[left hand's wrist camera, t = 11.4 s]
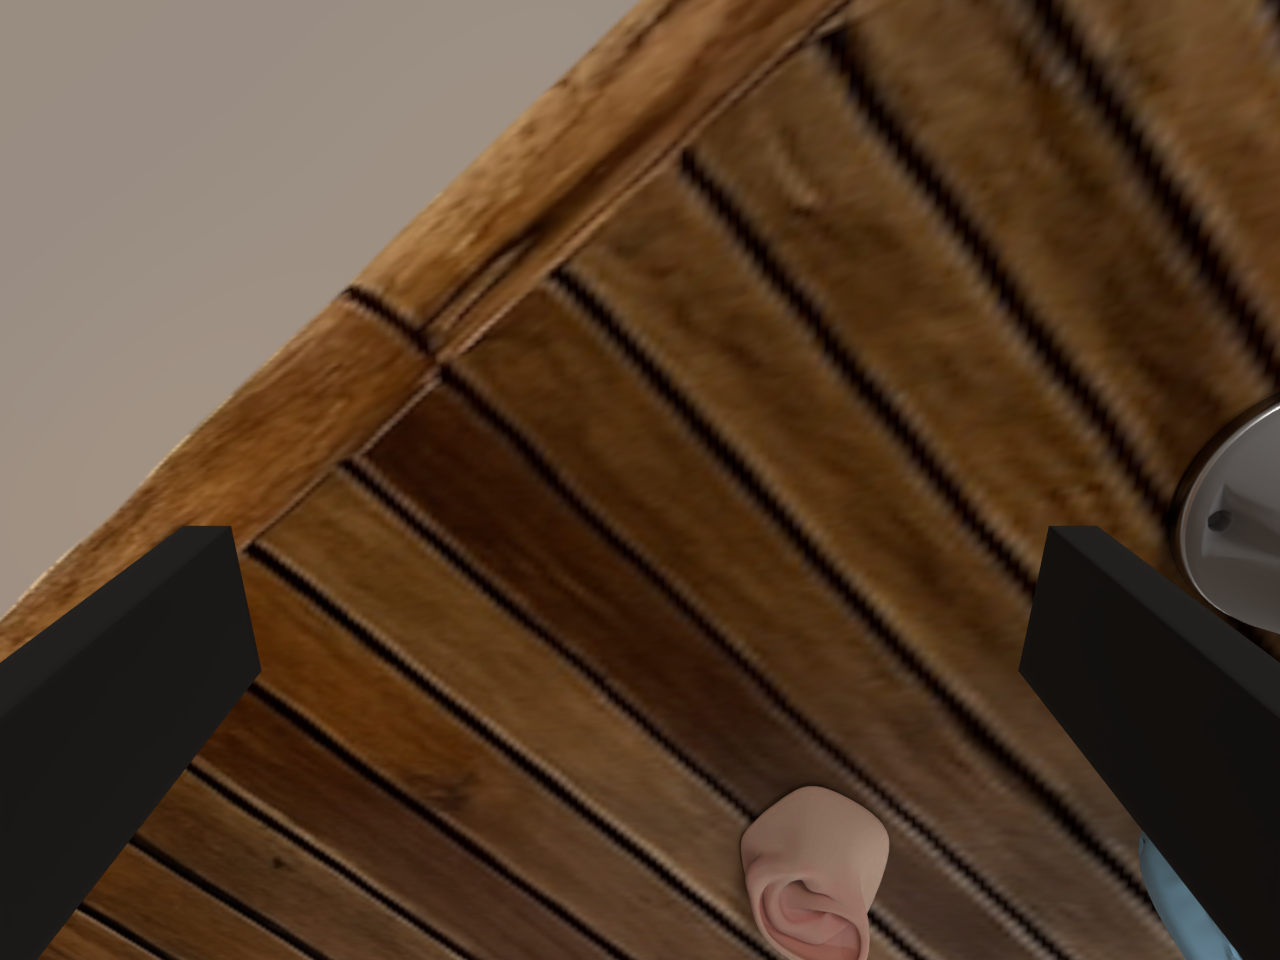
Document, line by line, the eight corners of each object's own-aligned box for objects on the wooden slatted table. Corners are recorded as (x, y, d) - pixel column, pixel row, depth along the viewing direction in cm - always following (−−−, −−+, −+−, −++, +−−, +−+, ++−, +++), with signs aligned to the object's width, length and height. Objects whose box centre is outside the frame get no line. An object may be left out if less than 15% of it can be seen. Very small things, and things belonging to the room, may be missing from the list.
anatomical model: (782, 817, 49) (944, 858, 51) (772, 772, 53) (923, 812, 54) (712, 956, 54) (862, 991, 55) (707, 906, 58) (848, 940, 59)
